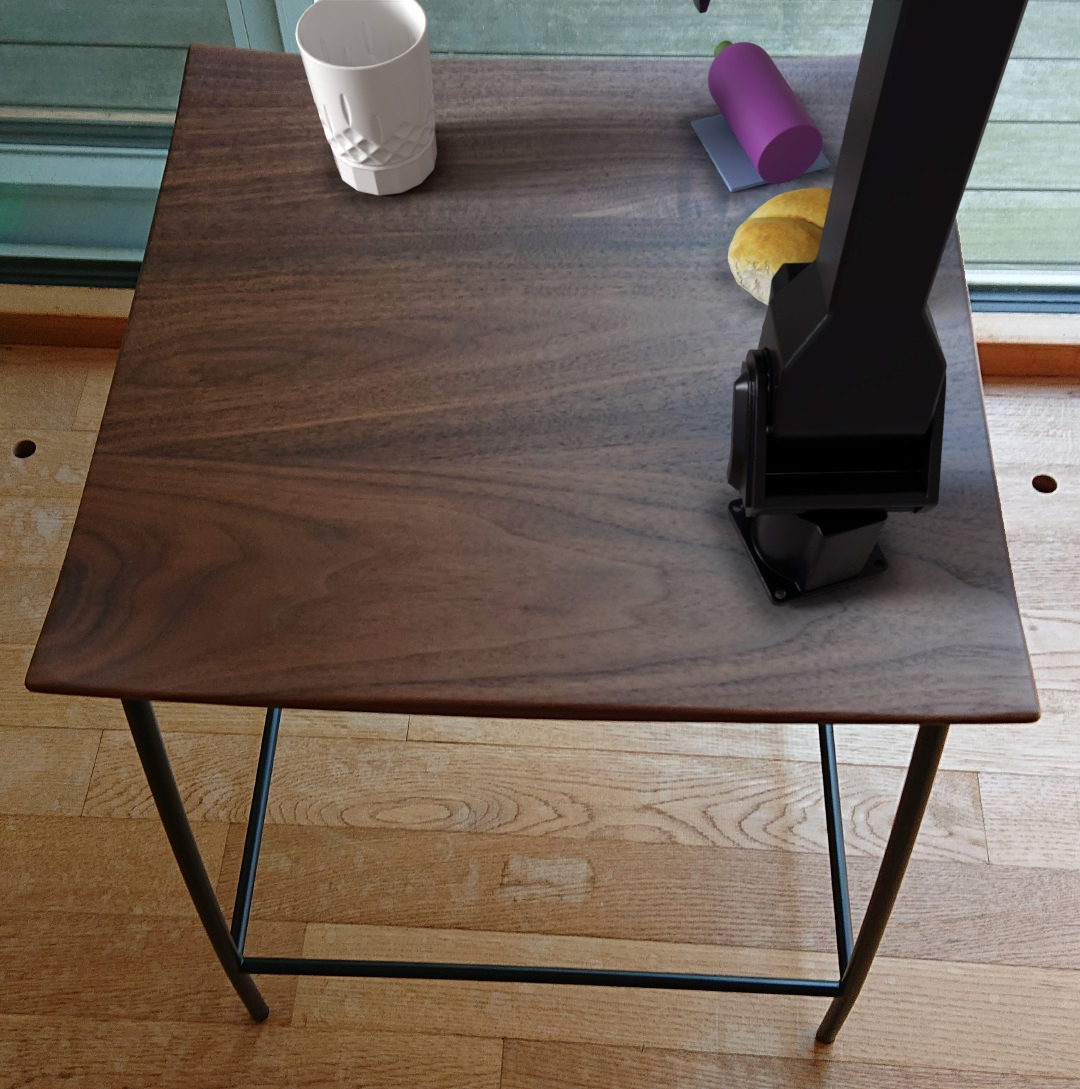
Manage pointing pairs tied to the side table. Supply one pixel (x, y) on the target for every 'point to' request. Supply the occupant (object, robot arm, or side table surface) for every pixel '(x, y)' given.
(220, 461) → the side table surface
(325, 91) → the white cup
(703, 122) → the blue-grey square tile
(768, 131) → the eggplant
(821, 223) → the bread roll
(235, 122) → the side table surface
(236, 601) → the side table surface
